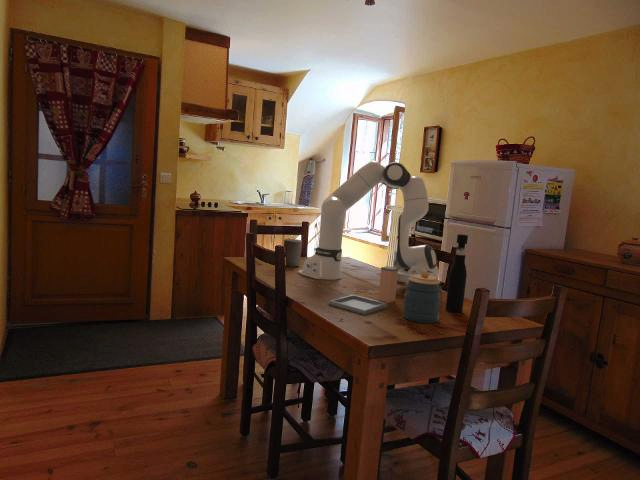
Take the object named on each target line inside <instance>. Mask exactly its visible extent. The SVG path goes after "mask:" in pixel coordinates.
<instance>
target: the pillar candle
mask: <svg viewBox="0 0 640 480" xmlns="http://www.w3.org/2000/svg"><path fill="white" fill-rule="evenodd" d="M302 245H303V240H300V239H295V238H284V239H283V247H285V251H286V266H285V267H287V266H290V268H296V267H295V266H299V267H301V258H302V257H301V255H302V248H303V247H302Z"/></svg>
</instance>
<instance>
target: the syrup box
mask: <svg viewBox="0 0 640 480" xmlns="http://www.w3.org/2000/svg"><path fill="white" fill-rule="evenodd" d="M396 252H397V248H396V249H394V250H393V260H392V261H393V262H392V267H395V268H399V270H402V271H405V269H404V268H402V267H401V266H399V265H398V263H397V262H396Z"/></svg>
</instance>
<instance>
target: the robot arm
mask: <svg viewBox="0 0 640 480" xmlns="http://www.w3.org/2000/svg"><path fill="white" fill-rule="evenodd" d="M378 184H383V185H384V186H386V187H387V188H389V189H393V190H398V189H399V190H401V193H402V196H403V210H402V213H400V214H399V217H398V223H397V224H398V225H397V244H396V245H397V247H396V250H397V252H396V262H397V263H398V265H399V266H401V267H402V268H404V271H402V270H398V277H397V282H403V283H405V284H406V283H408V282H409V279H408V278H409V277H411V276H413V275H415V274H421V273H422V271H424V270H426V271H428V273H429V275H430V276H434V277H436V278H437V279H438V277H439V274H440V270H439V268H438V266H437V263H438V256H437V252H436V250H435V249H434V248H433V247H432V246H431V245H429V244H423V245H415V246H414V245H413V246H409V238H410V235H409V234H410V229H411V227H412V226H413V224H415V223H416V222H418V221H419V220H421V219H422V218H423V217H425V216H426V215H427V213H428V212H429V207H430V206H429V197H428V191H427V187H426V184H425V180H424V179H423V178H422V177H421V176H417V175H413V176H412V175H411V173H410V172H409V170H407V168H406V167H405V166H404V164H402V163H400V162H396V161H394V162H389V163H388V164H387V165H386V166H384V165H382V164H381V163H380V162H378V161H376V160H371V161H369V162H368V163H366V164H364V165H363V166H361V168H359V169H358V170H357V171H356V172H354V173H353V174H352V175H351V176H350V177H349V178H348V179H347V180H346V181H344V182H343V183H342V184H341V185H339V187H337V188H336V189H335V190H334V191H333V192H331V194H329V195H328V196H327V197H326V198H325V199H324V200H323V202H322V205H321V210H320V211H321V212H320V221H319V222H320V225H319V235H318V236H319V238H318V246H317V247H314V248H313V251H315V252H314V254H313V255H311V256H310V257H309V258H307V259H306V260H305V261H303V265H302V269H299V270H297V274H300V275H303V276H306V277H308V278H312V279H315V280H331V281H332V280H341V279H343V275H342V268H341V267H342V265H341V264H342V263H341V262H342V257H343V255H342V254H343V249H342V245H343V243H342V242H343V233H344V224H345V213H346V212H347V211H348V210H349V209H350V208H352V207H353V206H354V205H355V204H356V203H358V202H360V200H361V199H362V198H364V197H365V196H366V195H367V194H369V192H370V191H371V190H373V189H374V188H375V187H376V186H378ZM405 269H408V271H406V270H405Z"/></svg>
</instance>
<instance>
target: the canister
mask: <svg viewBox="0 0 640 480" xmlns="http://www.w3.org/2000/svg"><path fill="white" fill-rule="evenodd" d="M408 279H409V282H408V283H406V282H405V283H404V284H405V288H406V289H405V292H404V293H403V294H404V301H403V308H402V317H403V318H404V319H406V320H408V321H411V322H415V323H422V324H433V323H437V322H438V321H439V318H440V307H441V300H442V297H441V291H443V287H442V286H440V284H441V281H440V280H439V279H438V277H437V278H436V277H434V276H430V275H429V273H428V271H426V270H424V271H422V273H421V274H415V275H413V276H411V277H409V278H408Z"/></svg>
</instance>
